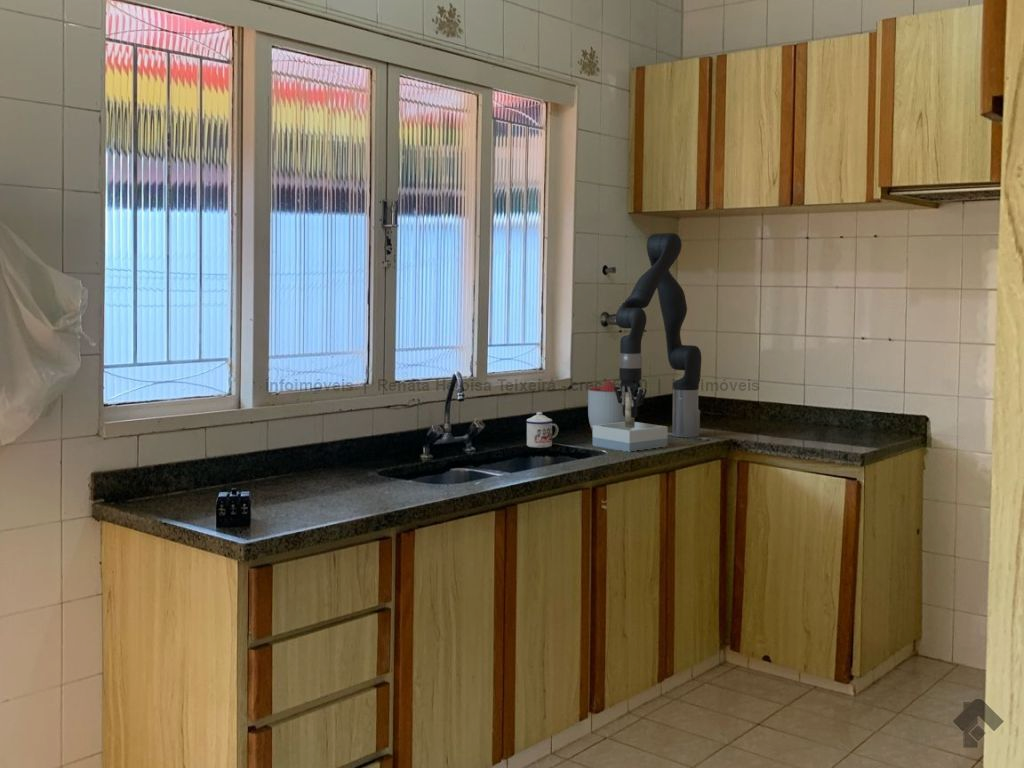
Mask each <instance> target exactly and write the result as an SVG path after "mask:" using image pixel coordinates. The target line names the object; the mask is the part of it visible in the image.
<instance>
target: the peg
mask: <svg viewBox="0 0 1024 768" xmlns="http://www.w3.org/2000/svg"><path fill="white" fill-rule="evenodd" d="M633 397H635V396H633ZM634 403H635V400H634ZM631 407H632V406H631V400H630V399H629V393H627V392H625V427H626V428H634V427H635V422H636V421H635V420H636V419H635V418H632V417H631Z"/></svg>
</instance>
